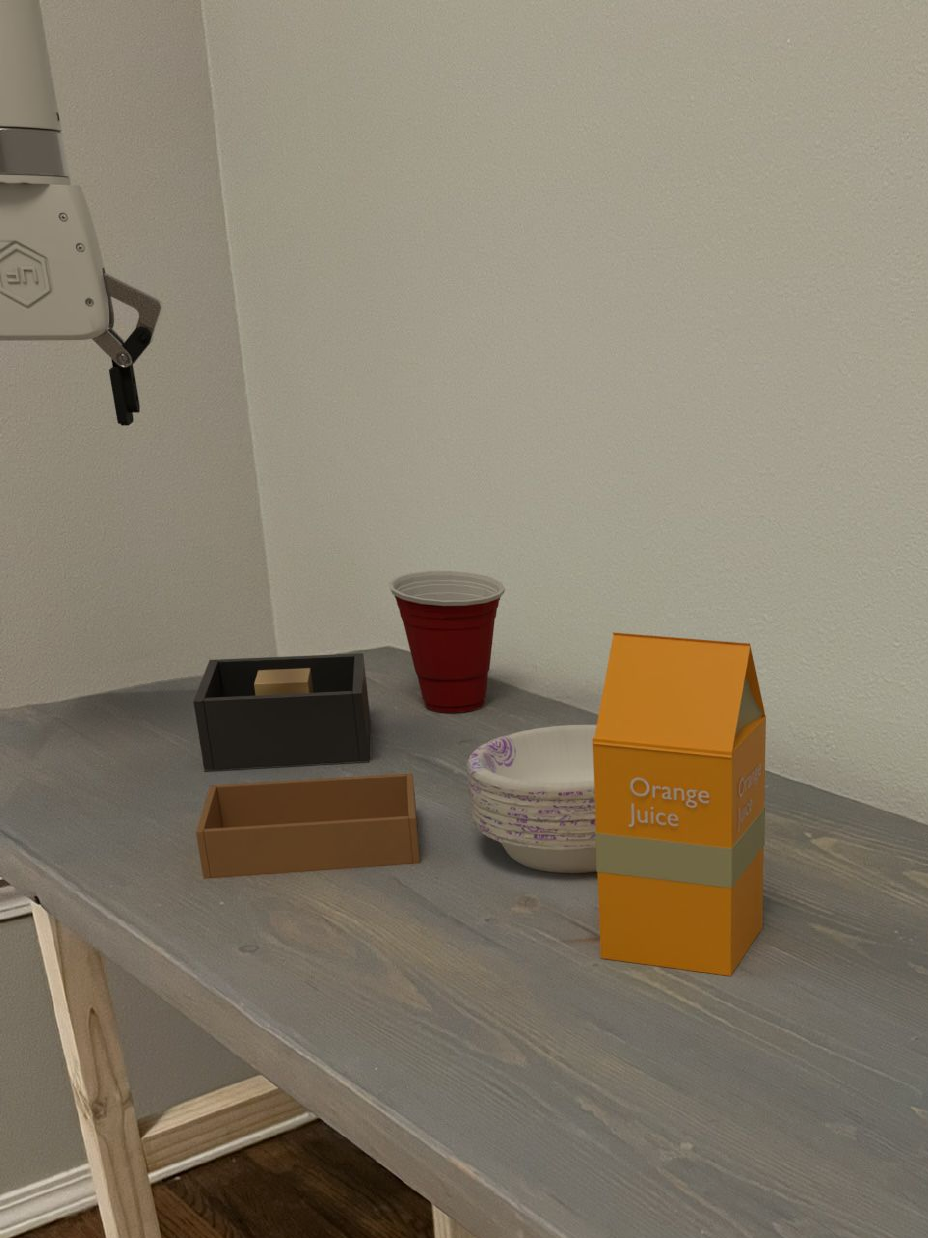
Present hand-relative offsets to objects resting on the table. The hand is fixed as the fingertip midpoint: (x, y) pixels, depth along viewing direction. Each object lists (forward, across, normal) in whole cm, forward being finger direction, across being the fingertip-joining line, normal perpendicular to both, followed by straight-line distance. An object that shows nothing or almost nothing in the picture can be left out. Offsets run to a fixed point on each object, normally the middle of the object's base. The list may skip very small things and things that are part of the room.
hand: (57, 424), depth 110 cm
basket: (+28, +13, +8) cm, 32 cm away
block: (+28, +13, +8) cm, 32 cm away
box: (+28, +16, -18) cm, 37 cm away
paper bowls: (+28, +35, -22) cm, 50 cm away
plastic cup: (+28, +28, +19) cm, 44 cm away
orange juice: (+28, +40, -39) cm, 63 cm away
